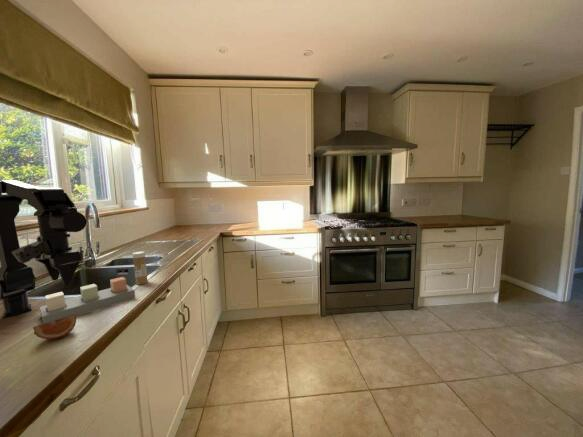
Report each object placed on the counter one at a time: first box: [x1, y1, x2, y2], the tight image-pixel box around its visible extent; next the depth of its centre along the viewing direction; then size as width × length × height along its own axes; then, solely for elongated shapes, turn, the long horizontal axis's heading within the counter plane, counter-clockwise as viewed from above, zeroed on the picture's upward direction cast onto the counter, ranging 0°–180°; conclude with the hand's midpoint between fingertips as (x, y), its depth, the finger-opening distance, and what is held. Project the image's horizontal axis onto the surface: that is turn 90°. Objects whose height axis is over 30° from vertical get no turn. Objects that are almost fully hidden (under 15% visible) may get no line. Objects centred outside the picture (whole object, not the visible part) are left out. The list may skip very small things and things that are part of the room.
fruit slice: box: [32, 314, 77, 340], centre depth 67 cm, size 8×7×5 cm
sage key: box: [79, 283, 99, 302], centre depth 85 cm, size 4×4×5 cm
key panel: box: [39, 284, 136, 324], centre depth 86 cm, size 10×24×3 cm, turn 138°
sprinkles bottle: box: [132, 251, 148, 285], centre depth 106 cm, size 5×5×14 cm
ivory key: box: [44, 291, 66, 312], centre depth 79 cm, size 4×4×5 cm
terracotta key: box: [109, 276, 128, 293], centre depth 91 cm, size 4×4×5 cm
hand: (61, 282), depth 74 cm, fingers open, 9 cm apart
